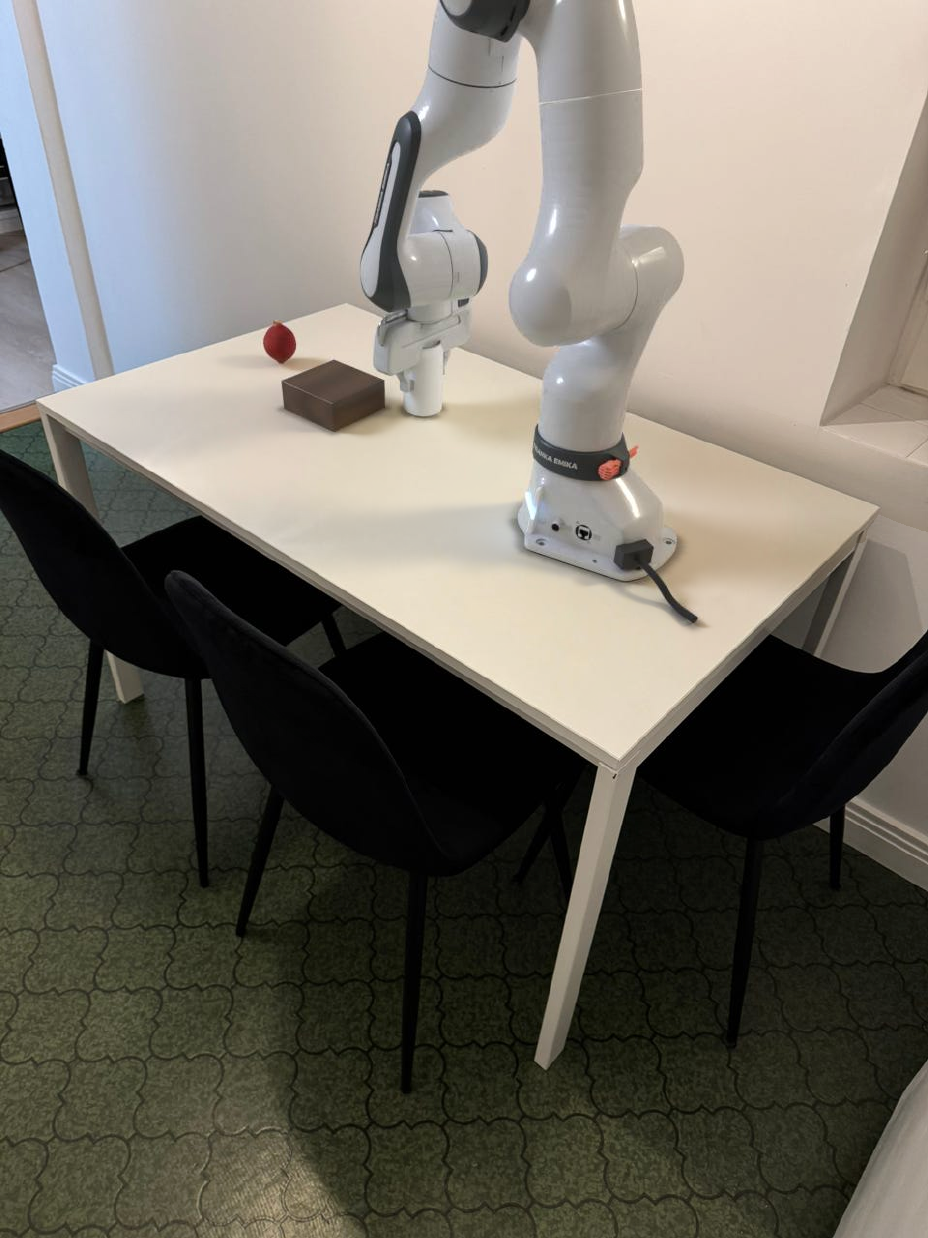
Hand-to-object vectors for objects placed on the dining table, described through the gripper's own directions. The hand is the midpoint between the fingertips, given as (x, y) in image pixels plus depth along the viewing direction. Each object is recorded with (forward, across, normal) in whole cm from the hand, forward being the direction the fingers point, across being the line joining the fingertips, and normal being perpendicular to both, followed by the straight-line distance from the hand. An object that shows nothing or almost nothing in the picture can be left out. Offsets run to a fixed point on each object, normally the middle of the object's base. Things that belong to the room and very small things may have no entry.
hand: (422, 382), depth 150 cm
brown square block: (+5, -10, +11) cm, 16 cm away
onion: (+5, -4, +31) cm, 31 cm away
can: (+5, 0, 0) cm, 5 cm away
